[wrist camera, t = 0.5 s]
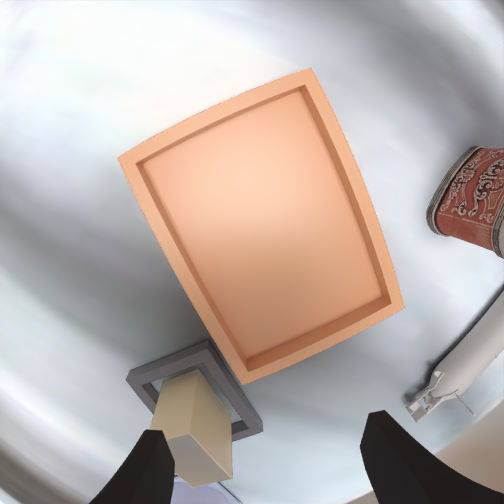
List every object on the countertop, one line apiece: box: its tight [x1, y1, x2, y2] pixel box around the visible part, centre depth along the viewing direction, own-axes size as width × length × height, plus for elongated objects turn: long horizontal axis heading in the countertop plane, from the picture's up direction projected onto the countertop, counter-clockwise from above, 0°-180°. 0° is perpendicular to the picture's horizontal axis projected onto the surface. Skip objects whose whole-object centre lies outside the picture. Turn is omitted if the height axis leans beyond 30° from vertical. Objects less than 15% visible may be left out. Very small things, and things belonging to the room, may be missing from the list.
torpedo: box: [406, 290, 504, 422], centre depth 19 cm, size 18×5×6 cm, turn 134°
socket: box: [126, 339, 263, 442], centre depth 21 cm, size 7×9×1 cm
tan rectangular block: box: [150, 368, 233, 488], centre depth 19 cm, size 3×5×6 cm, turn 25°
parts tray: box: [117, 68, 405, 385], centre depth 18 cm, size 12×16×2 cm
